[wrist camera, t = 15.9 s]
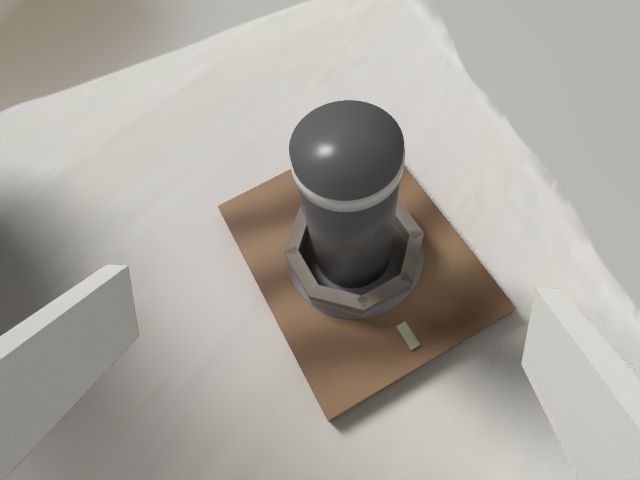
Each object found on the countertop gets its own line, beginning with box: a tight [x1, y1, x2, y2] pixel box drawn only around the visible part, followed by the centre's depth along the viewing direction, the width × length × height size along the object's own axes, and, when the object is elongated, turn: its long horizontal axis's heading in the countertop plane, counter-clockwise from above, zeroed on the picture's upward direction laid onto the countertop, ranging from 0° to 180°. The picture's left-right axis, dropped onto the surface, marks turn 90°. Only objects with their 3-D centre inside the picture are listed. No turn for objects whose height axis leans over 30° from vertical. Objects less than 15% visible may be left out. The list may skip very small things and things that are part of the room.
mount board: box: [218, 166, 516, 422], centre depth 36 cm, size 20×16×3 cm
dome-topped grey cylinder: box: [289, 100, 405, 288], centre depth 30 cm, size 6×6×14 cm
